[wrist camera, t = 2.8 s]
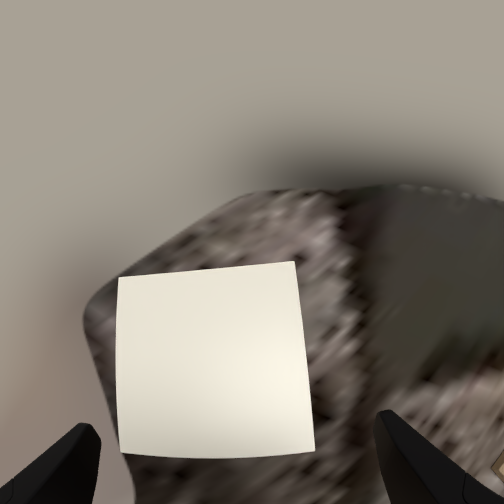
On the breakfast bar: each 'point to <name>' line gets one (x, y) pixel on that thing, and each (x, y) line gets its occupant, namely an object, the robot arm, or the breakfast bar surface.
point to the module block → (212, 364)
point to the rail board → (499, 467)
